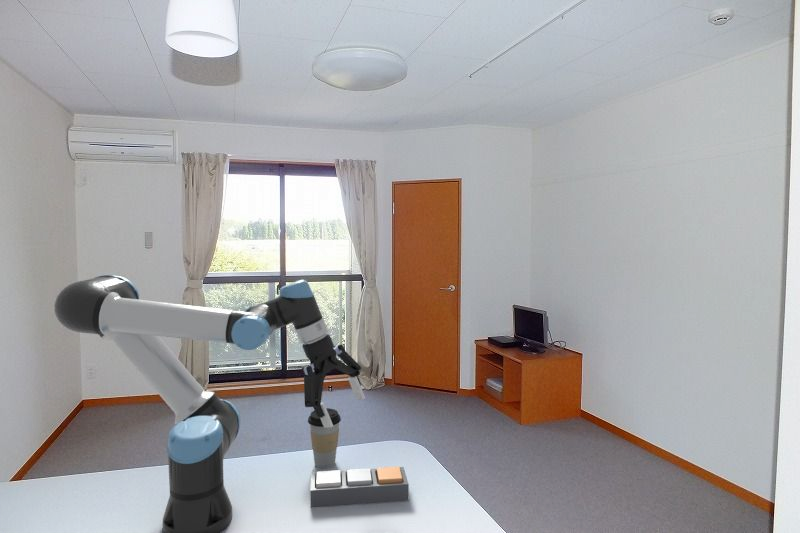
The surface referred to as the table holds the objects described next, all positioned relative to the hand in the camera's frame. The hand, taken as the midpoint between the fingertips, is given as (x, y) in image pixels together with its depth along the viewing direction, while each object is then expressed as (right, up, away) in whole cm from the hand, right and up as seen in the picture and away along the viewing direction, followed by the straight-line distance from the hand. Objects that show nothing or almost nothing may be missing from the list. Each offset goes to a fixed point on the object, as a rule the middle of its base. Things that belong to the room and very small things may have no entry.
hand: (345, 412), depth 131 cm
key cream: (-4, -17, -3) cm, 18 cm away
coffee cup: (-8, -19, +15) cm, 25 cm away
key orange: (+11, -17, -1) cm, 21 cm away
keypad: (+4, -21, -2) cm, 21 cm away
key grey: (+4, -17, -2) cm, 18 cm away
